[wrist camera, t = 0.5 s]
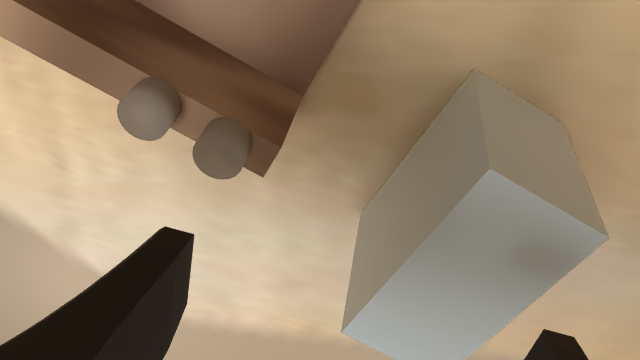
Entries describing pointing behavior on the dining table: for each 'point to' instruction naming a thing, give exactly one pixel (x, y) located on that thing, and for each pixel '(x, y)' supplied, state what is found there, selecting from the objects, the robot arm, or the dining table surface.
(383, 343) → the grey block
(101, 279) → the robot arm
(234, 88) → the wooden rimmed tray
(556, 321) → the dining table surface
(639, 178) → the dining table surface
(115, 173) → the dining table surface
